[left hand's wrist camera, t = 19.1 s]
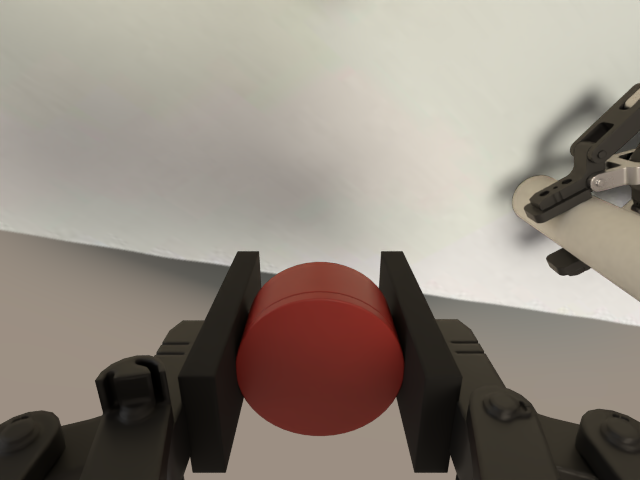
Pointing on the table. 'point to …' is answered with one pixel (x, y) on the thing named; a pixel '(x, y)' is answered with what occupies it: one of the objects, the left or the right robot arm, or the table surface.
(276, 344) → the lid
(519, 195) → the white cylindrical bottle
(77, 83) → the table surface
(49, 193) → the table surface
